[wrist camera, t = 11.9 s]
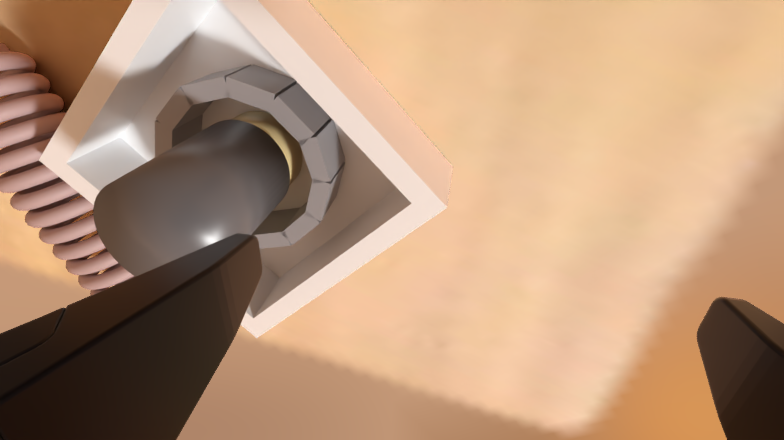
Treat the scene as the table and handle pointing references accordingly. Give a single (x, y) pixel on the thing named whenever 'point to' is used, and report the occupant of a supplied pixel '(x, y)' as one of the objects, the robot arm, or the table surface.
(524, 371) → the table surface
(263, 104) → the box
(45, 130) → the coil
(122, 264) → the plug
